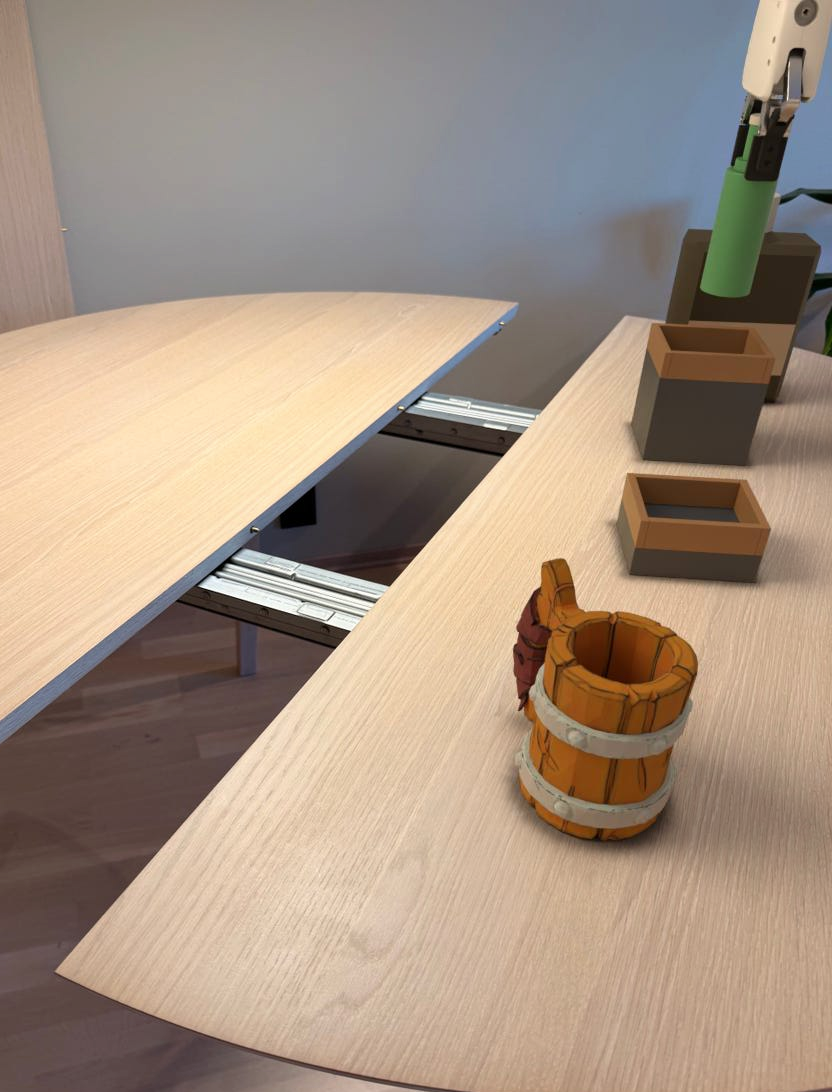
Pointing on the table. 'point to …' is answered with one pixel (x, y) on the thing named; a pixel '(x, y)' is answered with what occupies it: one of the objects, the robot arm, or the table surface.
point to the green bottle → (738, 228)
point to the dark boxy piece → (751, 292)
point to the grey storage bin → (701, 393)
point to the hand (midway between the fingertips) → (753, 172)
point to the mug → (598, 711)
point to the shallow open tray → (691, 527)
